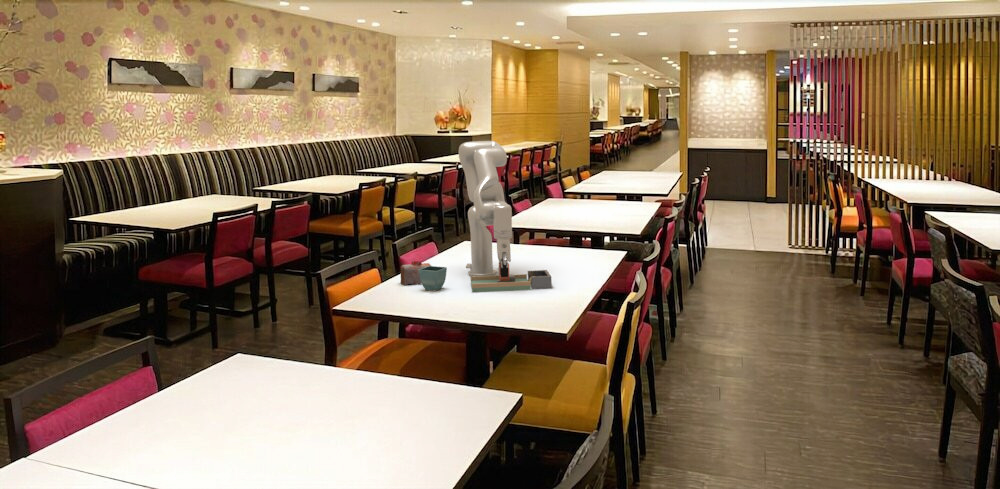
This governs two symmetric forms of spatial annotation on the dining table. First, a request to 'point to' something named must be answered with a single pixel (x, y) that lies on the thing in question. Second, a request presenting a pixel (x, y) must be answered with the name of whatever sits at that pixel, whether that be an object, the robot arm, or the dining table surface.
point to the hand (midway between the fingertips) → (503, 274)
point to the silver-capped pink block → (505, 279)
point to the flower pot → (432, 277)
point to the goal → (540, 279)
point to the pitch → (491, 283)
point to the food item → (412, 272)
